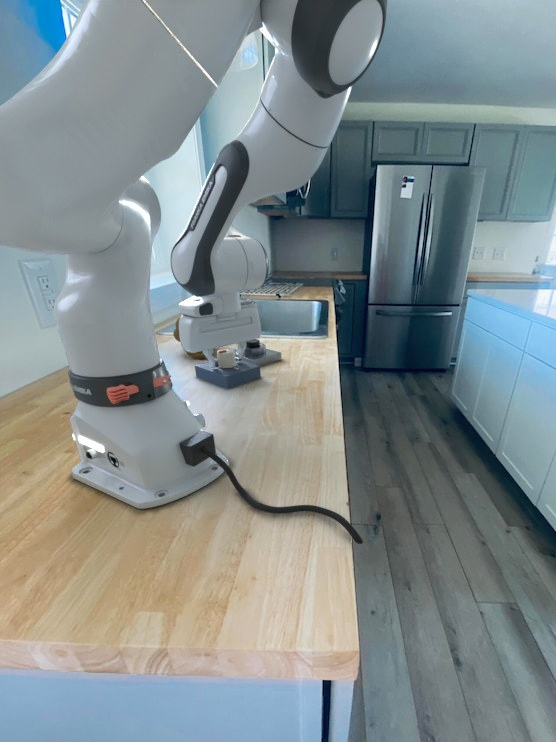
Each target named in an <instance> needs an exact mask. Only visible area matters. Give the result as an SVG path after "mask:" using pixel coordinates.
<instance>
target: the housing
mask: <svg viewBox="0 0 556 742" xmlns="http://www.w3.org/2000/svg"><path fill="white" fill-rule="evenodd" d="M233 350H234V351H235V353H236V352H237V348H235V349H233ZM243 358H244V359H243V360H241V361H244V362H247V363H251V364H254V365H257V366H260V367H263V366H267V365H270V364H273V363H276V362H279V361H282V352H281V351H276V350H273V349H269V348H267V346H266V344H265V343H262V342H260V347H257V348H247V347H246V348H245V350H244V353H243Z"/></svg>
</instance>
